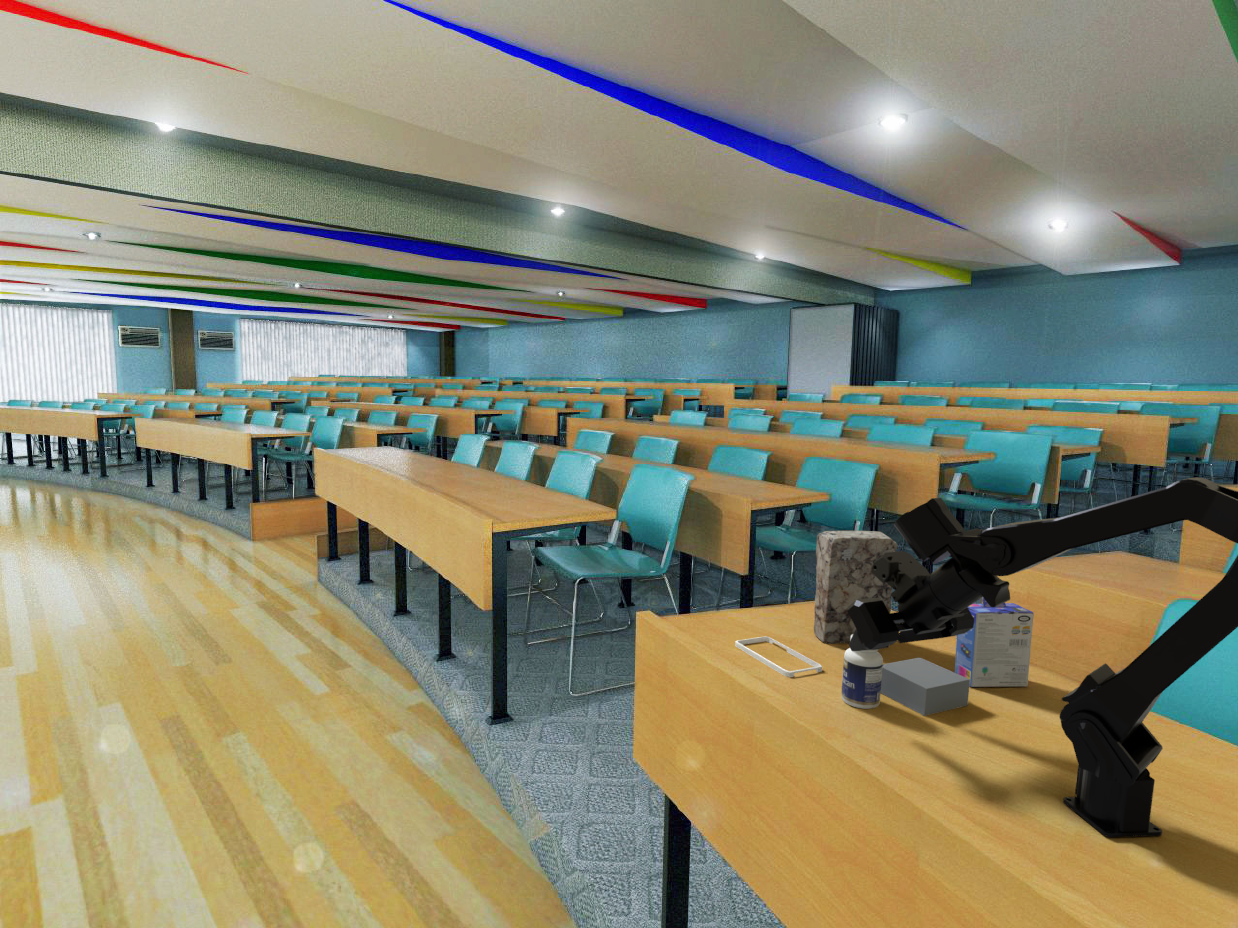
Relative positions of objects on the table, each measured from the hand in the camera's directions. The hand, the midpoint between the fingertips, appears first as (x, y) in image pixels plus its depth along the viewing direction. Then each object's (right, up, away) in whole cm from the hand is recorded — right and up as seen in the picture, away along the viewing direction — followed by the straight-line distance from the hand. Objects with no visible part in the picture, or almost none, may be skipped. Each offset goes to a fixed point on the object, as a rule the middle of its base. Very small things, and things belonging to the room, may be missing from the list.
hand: (875, 643), depth 100 cm
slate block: (+9, -9, +5) cm, 14 cm away
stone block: (+6, -7, +30) cm, 31 cm away
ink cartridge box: (+23, -9, +12) cm, 28 cm away
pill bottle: (-1, -9, +3) cm, 10 cm away
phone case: (-10, -8, +19) cm, 23 cm away
